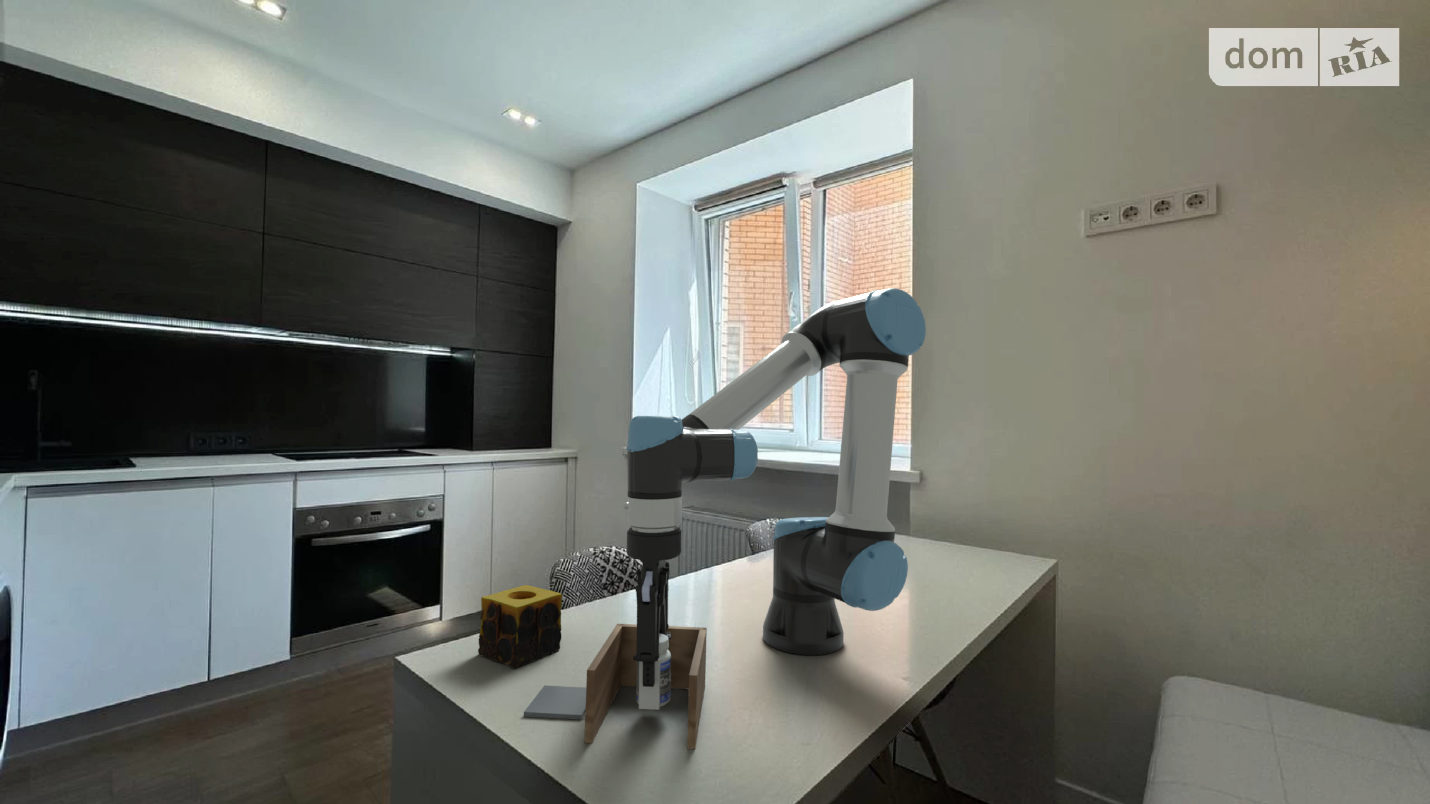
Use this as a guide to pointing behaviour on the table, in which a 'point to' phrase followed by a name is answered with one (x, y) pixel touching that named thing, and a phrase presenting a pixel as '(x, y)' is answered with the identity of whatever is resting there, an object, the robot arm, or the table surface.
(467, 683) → the table surface
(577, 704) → the slate coaster
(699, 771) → the table surface
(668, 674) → the pill bottle
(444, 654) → the table surface
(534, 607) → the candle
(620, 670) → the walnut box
